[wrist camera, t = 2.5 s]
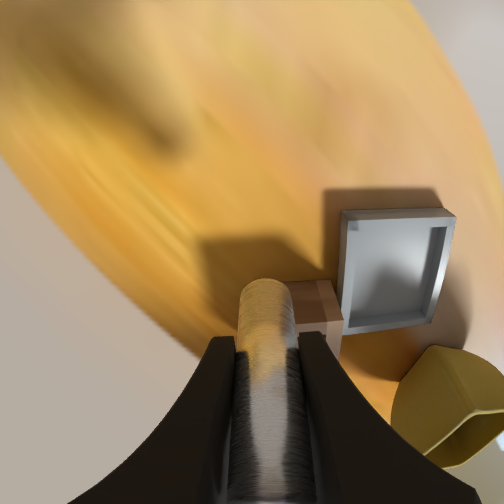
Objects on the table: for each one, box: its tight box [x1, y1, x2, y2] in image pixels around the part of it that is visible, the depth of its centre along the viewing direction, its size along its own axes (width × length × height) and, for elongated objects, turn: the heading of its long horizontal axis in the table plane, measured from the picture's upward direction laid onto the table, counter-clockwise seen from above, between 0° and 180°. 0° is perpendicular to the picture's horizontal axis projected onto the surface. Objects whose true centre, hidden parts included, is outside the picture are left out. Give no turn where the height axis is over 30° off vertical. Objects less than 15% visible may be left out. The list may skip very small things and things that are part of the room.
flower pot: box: [391, 345, 504, 469], centre depth 20 cm, size 9×9×9 cm
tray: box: [336, 208, 456, 335], centre depth 18 cm, size 8×7×2 cm
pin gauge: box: [226, 278, 317, 504], centre depth 9 cm, size 2×2×8 cm
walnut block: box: [283, 279, 344, 360], centre depth 19 cm, size 5×5×4 cm
